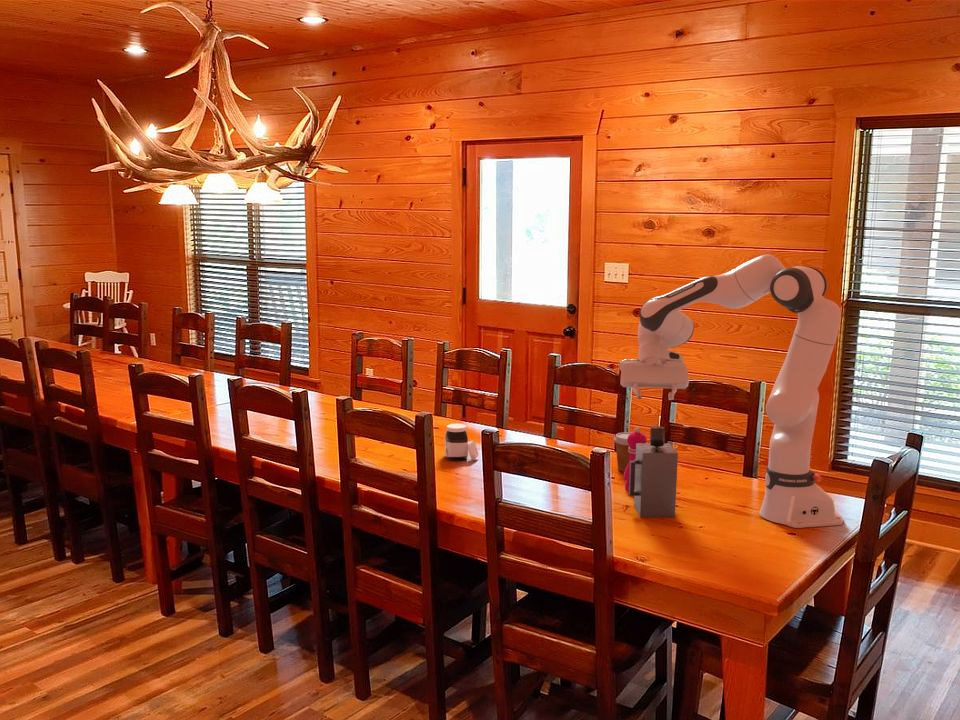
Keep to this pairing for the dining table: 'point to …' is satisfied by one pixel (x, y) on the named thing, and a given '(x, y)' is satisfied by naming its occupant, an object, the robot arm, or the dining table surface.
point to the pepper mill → (633, 452)
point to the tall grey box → (654, 480)
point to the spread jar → (459, 443)
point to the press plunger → (657, 436)
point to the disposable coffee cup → (622, 450)
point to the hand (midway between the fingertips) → (655, 398)
